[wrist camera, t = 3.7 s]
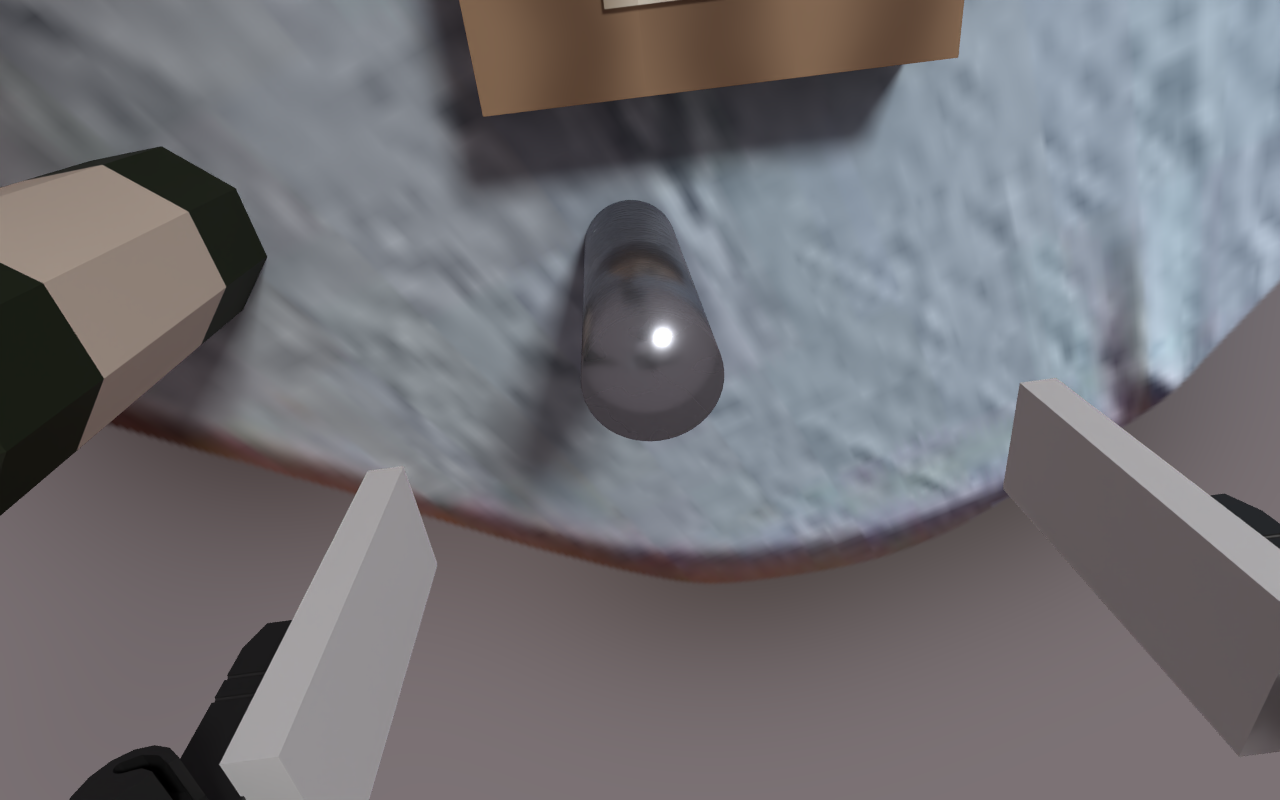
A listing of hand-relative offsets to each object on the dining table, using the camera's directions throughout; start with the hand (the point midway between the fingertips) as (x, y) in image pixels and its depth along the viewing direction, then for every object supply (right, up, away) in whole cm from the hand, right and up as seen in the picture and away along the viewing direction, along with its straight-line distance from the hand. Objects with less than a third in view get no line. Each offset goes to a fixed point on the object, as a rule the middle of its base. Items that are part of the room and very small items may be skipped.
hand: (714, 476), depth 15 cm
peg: (-2, +9, +18) cm, 21 cm away
